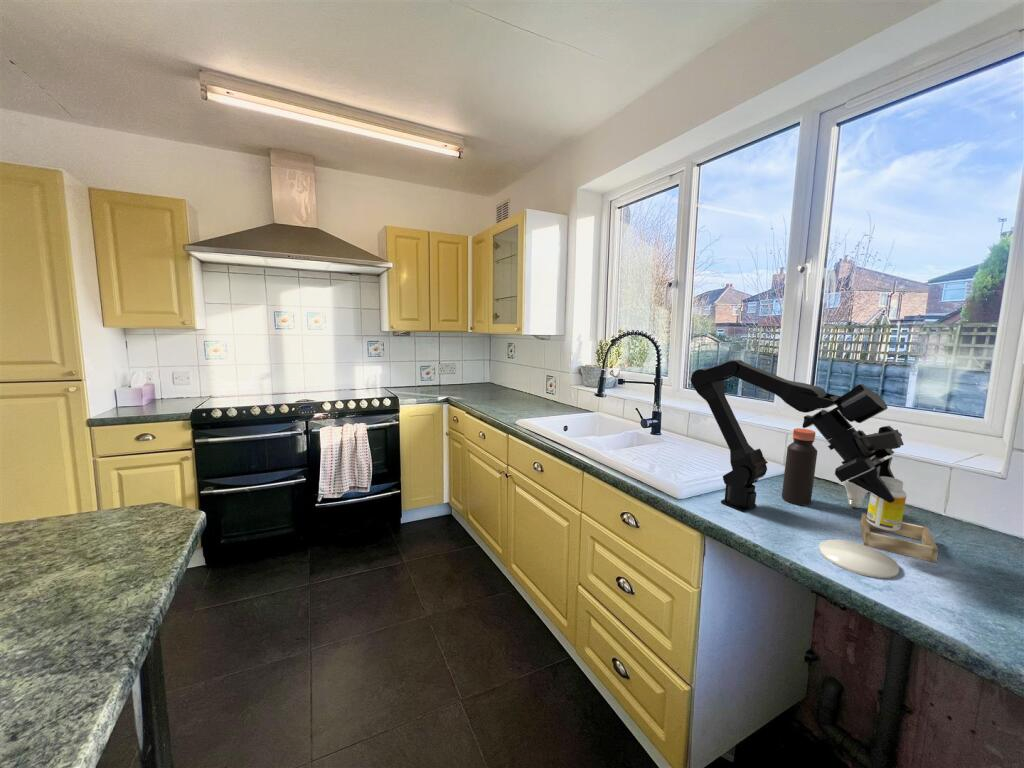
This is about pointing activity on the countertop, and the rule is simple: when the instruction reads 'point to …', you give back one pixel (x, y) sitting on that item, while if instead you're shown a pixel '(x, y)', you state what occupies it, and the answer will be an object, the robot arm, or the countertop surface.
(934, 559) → the bin frame
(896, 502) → the supplement bottle
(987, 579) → the countertop surface
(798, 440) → the vinegar
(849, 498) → the light bulb
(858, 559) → the plate
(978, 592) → the countertop surface
